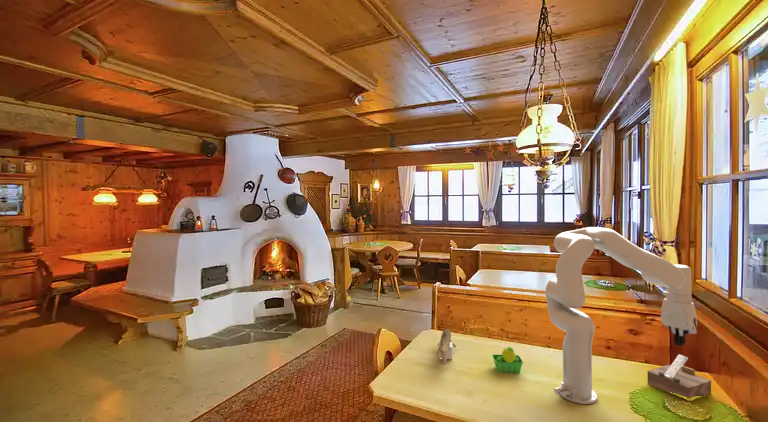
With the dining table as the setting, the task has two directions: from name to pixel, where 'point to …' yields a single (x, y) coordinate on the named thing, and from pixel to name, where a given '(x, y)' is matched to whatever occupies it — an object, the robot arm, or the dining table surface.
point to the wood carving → (446, 346)
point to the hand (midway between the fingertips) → (679, 344)
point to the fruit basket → (508, 361)
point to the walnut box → (680, 382)
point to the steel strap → (675, 366)
